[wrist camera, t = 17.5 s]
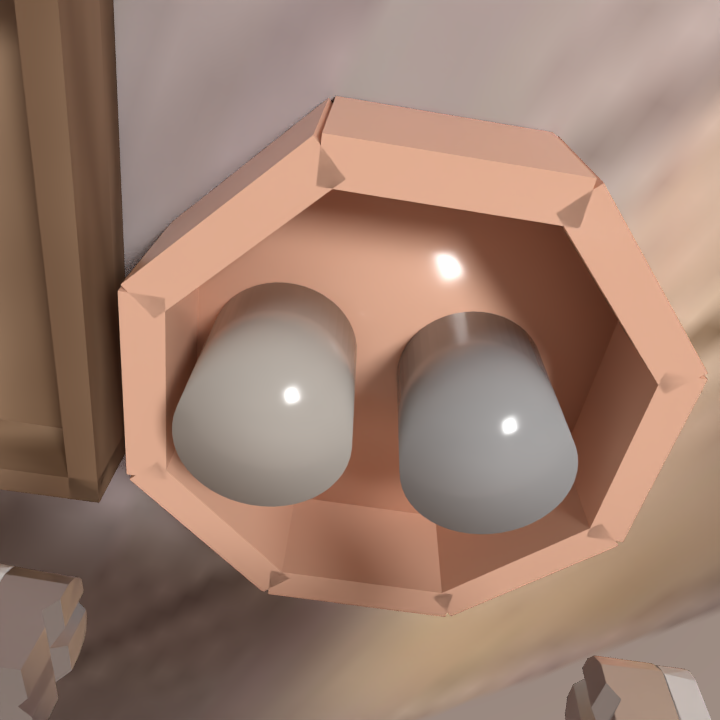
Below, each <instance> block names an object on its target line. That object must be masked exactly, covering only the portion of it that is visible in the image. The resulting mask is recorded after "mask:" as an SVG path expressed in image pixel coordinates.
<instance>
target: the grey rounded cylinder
mask: <svg viewBox="0 0 720 720" xmlns="http://www.w3.org/2000/svg"><path fill="white" fill-rule="evenodd" d="M397 406H398V440H399V473H400V482H401V486H402V489H403V492H404V494H405V496H406V498H407V499H408V501H409V502H410V504H411V505H412V506H413V507H414V508H415V510H416V511H418V512H419V513H420V514H421V515H422V516H424V517H425V518H427V519H428V520H429V521H431V522H433V523H435V524H437V525H439V526H441V527H444V528H447V529H450V530H453V531H457V532H462V533H469V534H495V533H503V532H507V531H512V530H515V529H518V528H522V527H524V526H527V525H529V524H531V523H534V522H535V521H537V520H539V519H541V518H543V517H544V516H546V515H547V514H548V513H550V512H551V511H552V510H553V509H555V508H556V507H557V506H558V505H559V504H560V503H561V502H562V501H563V499H564V498H565V497H566V496H567V494H568V493H569V491H570V489H571V487H572V485H573V483H574V481H575V478H576V474H577V469H578V454H577V450H576V446H575V443H574V441H573V438H572V436H571V433H570V430H569V428H568V425H567V423H566V420H565V418H564V415H563V413H562V410H561V407H560V405H559V402H558V400H557V397H556V395H555V392H554V389H553V387H552V384H551V382H550V379H549V377H548V374H547V371H546V369H545V366H544V364H543V361H542V359H541V356H540V353H539V351H538V349H537V346H536V344H535V343H534V341H533V339H532V338H531V337H530V335H529V334H528V333H527V332H526V331H525V330H524V329H523V328H522V327H520V326H519V325H518V324H516V323H515V322H513V321H511V320H509V319H507V318H505V317H503V316H499V315H496V314H492V313H487V312H476V311H472V312H461V313H455V314H451V315H448V316H444V317H442V318H440V319H437V320H435V321H433V322H431V323H430V324H428V325H426V326H425V327H424V328H422V329H421V330H420V331H418V332H417V333H416V334H415V335H414V336H413V337H412V338H411V340H410V341H409V342H408V343H407V345H406V347H405V348H404V350H403V352H402V354H401V356H400V359H399V362H398V366H397Z"/></svg>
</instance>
